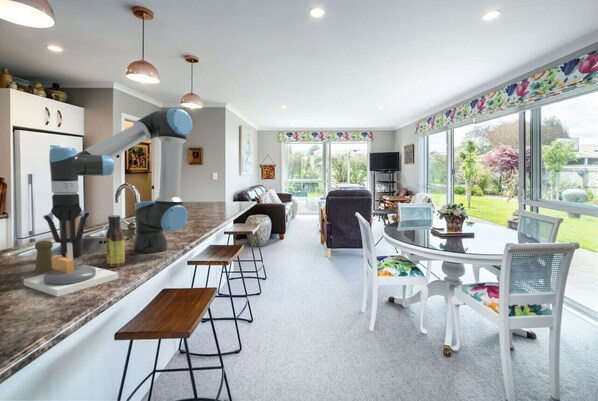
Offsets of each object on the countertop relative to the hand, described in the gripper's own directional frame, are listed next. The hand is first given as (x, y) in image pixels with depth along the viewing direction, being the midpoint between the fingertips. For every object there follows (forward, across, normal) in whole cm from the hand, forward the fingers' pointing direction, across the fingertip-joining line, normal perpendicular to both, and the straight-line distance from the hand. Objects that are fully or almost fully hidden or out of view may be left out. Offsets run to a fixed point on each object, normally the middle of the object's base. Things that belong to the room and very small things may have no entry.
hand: (69, 261), depth 113 cm
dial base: (+6, -1, -5) cm, 8 cm away
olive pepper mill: (+6, -4, +17) cm, 19 cm away
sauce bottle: (+6, +16, +4) cm, 18 cm away
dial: (+4, -2, -6) cm, 7 cm away
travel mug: (+6, +7, +32) cm, 33 cm away
